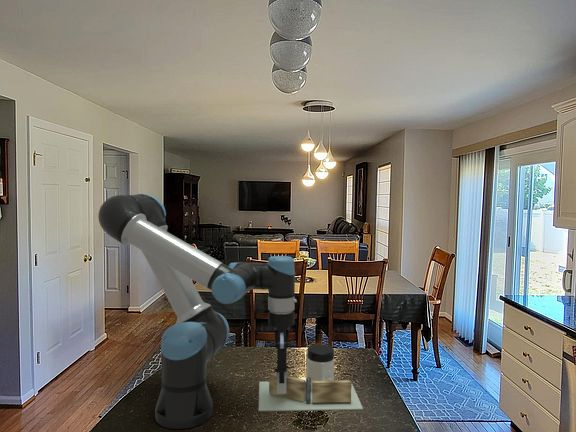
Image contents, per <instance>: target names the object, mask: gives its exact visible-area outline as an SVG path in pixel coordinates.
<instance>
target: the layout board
mask: <svg viewBox="0 0 576 432" xmlns="http://www.w3.org/2000/svg"><path fill="white" fill-rule="evenodd" d="M305 382H306V380H305ZM258 383H259V385H258V387H259V389H258V391H259V392H258V412H298V411H301V412H304V411H306V412H307V411H360V410H361V411H362V410H364V407H363V405H362V403H361V401H360V399H359V396H358V394H357V391H356V389H355V387H354V385H353V382H352V381H351V384H352V387H351V402H324V403H313V402H312V391H311V403H310V404H306V384H305V400H304V402H303V401H299V400H295V399H291V398H286V397H282V396H278V395H274V394H270V393H269V381H259V382H258Z"/></svg>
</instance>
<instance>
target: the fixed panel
mask: <svg viewBox="0 0 576 432" xmlns="http://www.w3.org/2000/svg"><path fill="white" fill-rule="evenodd" d="M351 382H352V381H351V380H346V379H345V380H334V381H312V402H313V403H324V402H351V387H352V385H353V383H352V384H351Z"/></svg>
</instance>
